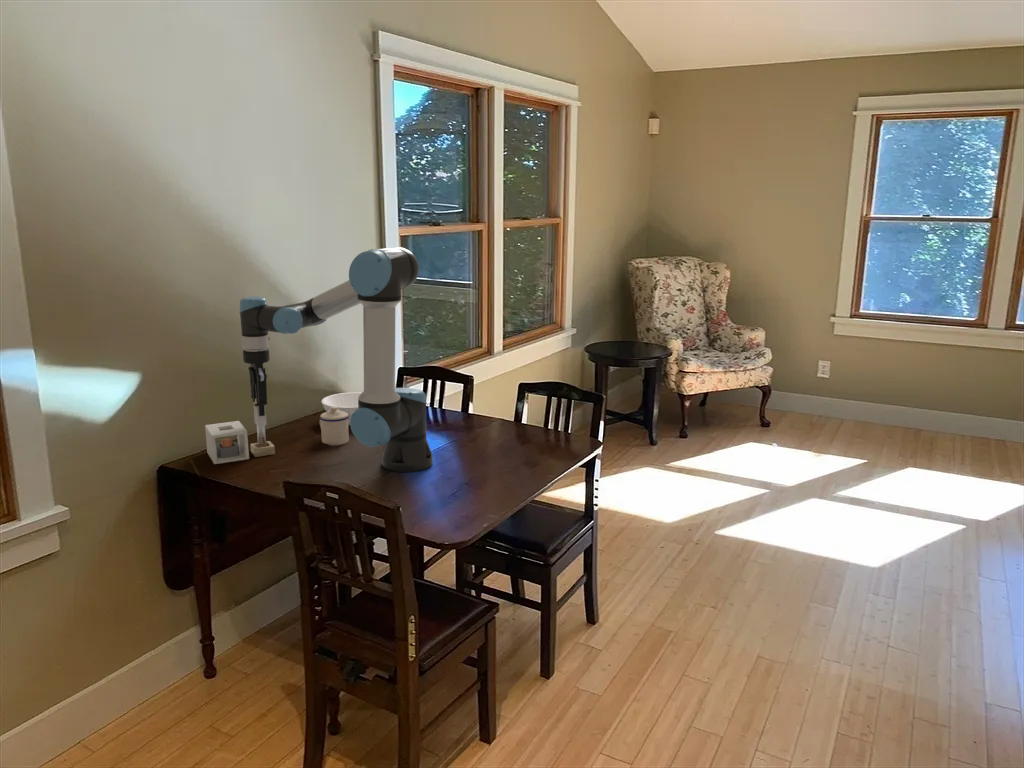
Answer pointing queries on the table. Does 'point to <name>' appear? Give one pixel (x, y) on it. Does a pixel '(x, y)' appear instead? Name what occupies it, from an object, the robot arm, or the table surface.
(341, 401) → the bowl
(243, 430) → the white hollow frame cube
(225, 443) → the button
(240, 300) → the robot arm
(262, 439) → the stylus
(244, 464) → the table surface
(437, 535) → the table surface
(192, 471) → the table surface
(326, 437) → the teacup with lid
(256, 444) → the stylus stand
